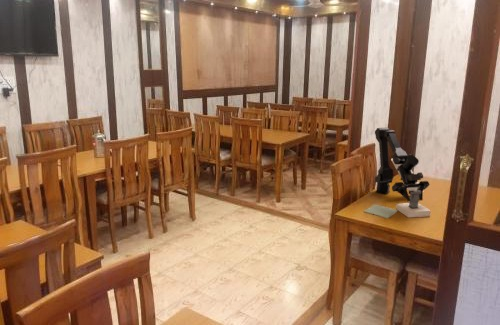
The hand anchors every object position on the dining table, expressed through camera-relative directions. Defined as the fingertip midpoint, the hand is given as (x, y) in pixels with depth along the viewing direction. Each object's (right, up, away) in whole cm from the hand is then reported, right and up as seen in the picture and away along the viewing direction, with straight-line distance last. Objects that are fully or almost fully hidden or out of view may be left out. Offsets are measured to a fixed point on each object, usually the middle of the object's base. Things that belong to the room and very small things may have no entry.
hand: (415, 200), depth 202 cm
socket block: (0, -6, +3) cm, 7 cm away
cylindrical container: (+12, +1, +25) cm, 27 cm away
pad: (-17, -6, +4) cm, 18 cm away
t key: (0, -6, +3) cm, 7 cm away
